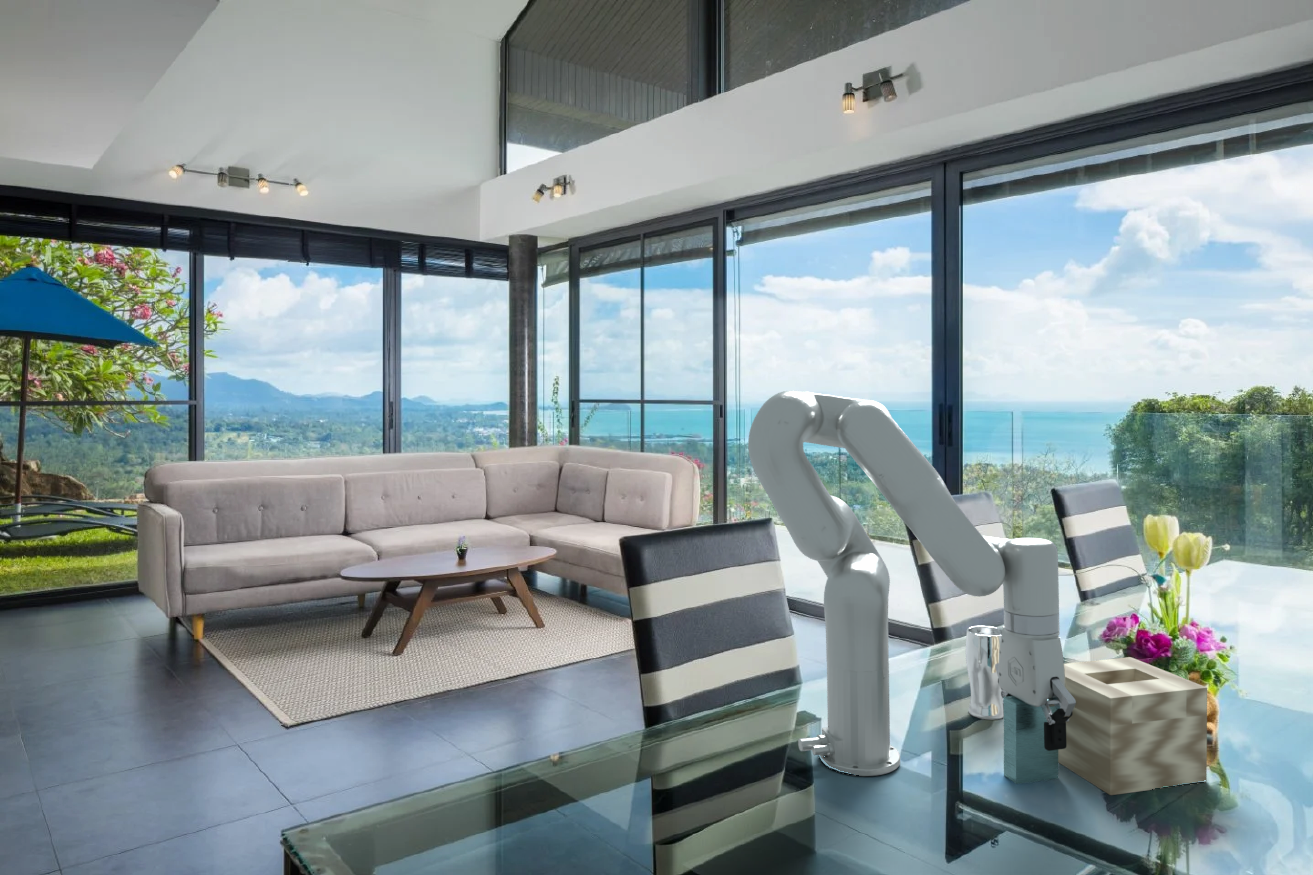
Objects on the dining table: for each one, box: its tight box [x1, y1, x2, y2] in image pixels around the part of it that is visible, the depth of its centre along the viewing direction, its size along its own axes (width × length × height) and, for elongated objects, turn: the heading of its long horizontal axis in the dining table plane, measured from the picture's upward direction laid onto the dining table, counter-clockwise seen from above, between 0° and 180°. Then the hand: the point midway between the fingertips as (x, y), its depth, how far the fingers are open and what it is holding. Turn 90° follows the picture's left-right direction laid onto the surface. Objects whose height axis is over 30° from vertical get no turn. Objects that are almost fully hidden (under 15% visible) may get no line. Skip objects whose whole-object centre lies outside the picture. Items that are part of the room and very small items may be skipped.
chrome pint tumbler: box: [965, 625, 1004, 721], centre depth 153 cm, size 7×7×15 cm
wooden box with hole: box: [1058, 656, 1208, 796], centre depth 131 cm, size 16×15×14 cm
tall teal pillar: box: [1003, 696, 1059, 785], centre depth 128 cm, size 7×3×12 cm, turn 102°
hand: (1034, 736), depth 128 cm, fingers open, 9 cm apart
